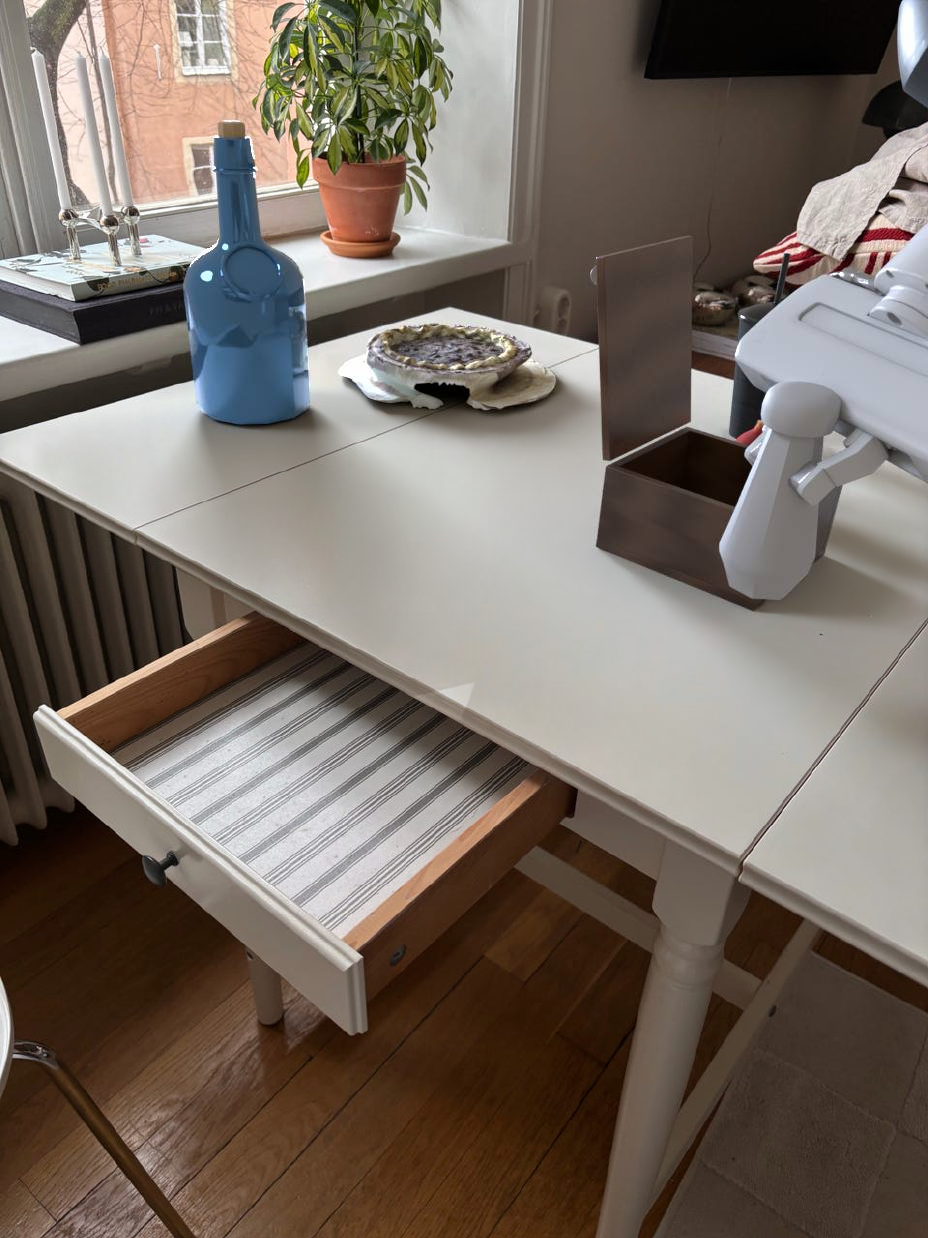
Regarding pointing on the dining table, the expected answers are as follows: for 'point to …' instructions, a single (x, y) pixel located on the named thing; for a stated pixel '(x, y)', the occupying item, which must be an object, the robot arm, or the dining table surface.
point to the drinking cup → (744, 392)
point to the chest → (684, 509)
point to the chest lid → (644, 342)
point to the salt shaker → (779, 494)
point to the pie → (449, 366)
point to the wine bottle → (245, 305)
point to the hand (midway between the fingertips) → (776, 480)
